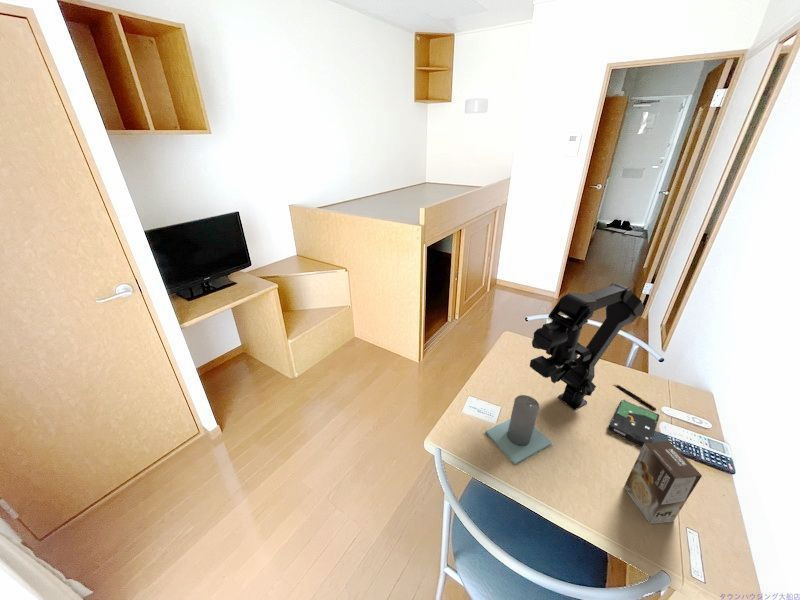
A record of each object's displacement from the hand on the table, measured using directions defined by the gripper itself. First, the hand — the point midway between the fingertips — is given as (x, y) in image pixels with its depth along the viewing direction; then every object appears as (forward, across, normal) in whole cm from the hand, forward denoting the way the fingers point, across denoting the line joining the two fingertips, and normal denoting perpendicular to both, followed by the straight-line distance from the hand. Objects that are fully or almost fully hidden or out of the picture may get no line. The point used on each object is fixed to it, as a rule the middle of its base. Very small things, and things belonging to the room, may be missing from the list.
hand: (554, 381), depth 97 cm
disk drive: (+14, -20, +15) cm, 28 cm away
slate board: (+13, +15, +3) cm, 20 cm away
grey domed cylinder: (+12, +15, +3) cm, 19 cm away
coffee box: (+13, +1, +31) cm, 34 cm away
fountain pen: (+13, -32, +8) cm, 35 cm away
